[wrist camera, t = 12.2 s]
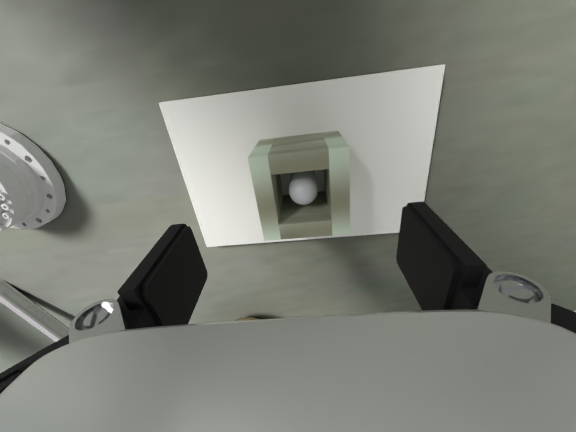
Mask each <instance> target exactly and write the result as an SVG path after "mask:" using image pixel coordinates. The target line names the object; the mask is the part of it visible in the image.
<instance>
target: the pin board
mask: <svg viewBox="0 0 576 432" xmlns="http://www.w3.org/2000/svg"><path fill="white" fill-rule="evenodd" d="M444 70H445V64H444V65H435V66H427V67H420V68H412V69H405V70H397V71H390V72H382V73H375V74H367V75H360V76H352V77H345V78H337V79H330V80H323V81H315V82H308V83H300V84H293V85H285V86H278V87H270V88H263V89H255V90H248V91H240V92H233V93H225V94H218V95H210V96H203V97H195V98H188V99H180V100H173V101H165V102H160V103H159V106H160V109H161V112H162V115H163V118H164V121H165V124H166V127H167V130H168V133H169V136H170V139H171V142H172V145H173V148H174V151H175V154H176V156H177V159H178V162H179V165H180V168H181V171H182V174H183V177H184V180H185V183H186V186H187V189H188V192H189V195H190V198H191V201H192V204H193V207H194V210H195V213H196V216H197V219H198V222H199V225H200V228H201V231H202V234H203V237H204V240H205V243H206V246H207V247H214V246H227V245H240V244H254V243H267V242H280V241H293V240H307V239H320V238H333V237H346V236H359V235H373V234H386V233H399V232H400V223H401V215H402V208H403V207H404V206H407V204H408V203H411V202H424V199H425V192H426V186H427V179H428V173H429V166H430V160H431V153H432V147H433V141H434V134H435V128H436V121H437V115H438V108H439V102H440V95H441V89H442V83H443V76H444ZM331 131H339V133H340V134H341V136H342V137H343V138H344V140H345V141H346V142H347V144H348V145H349V147H350V234H345V235H332V236H319V237H306V238H293V239H281V240H268V241H264V237H263V232H262V227H261V222H260V217H259V212H258V207H257V202H256V197H255V192H254V187H253V182H252V177H251V172H250V167H249V162H248V157H249V155H250V154H251V152H252V150H253V149H254V147H255V146H256V144H257V143H258V141H259V140H262V139H271V138H279V137H288V136H297V135H305V134H314V133H322V132H331ZM280 178H281V185H282V192H283V195H289V194H290V197H291V199H292V200H293V201H294V202H296V203H297V204H301V205H306V204H309V203H311V202H312V201H313V200H314V199H315V198H316V196H317V193H318V192H320V191H325V180H324V170H314V171H304V172H294V173H285V174H280Z"/></svg>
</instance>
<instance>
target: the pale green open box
mask: <svg viewBox="0 0 576 432" xmlns="http://www.w3.org/2000/svg"><path fill="white" fill-rule="evenodd" d="M248 162H249V167H250V172H251V177H252V182H253V187H254V192H255V197H256V202H257V207H258V212H259V217H260V222H261V227H262V232H263V237H264V241H268V240H281V239H293V238H306V237H319V236H332V235H345V234H350V147H349V145H348V144H347V142H346V141H345V140H344V138H343V137H342V136H341V134H340V133H339V131H331V132H322V133H314V134H305V135H297V136H288V137H279V138H271V139H262V140H259V141H258V143H257V144H256V146H255V147H254V149H253V150H252V152H251V154H250V155H249V157H248ZM314 170H324V180H325V191H320V192H318V193H317V196H316V198H315V199H314V200H313V201H312V202H311V203H309V204H306V205H301V204H297V203H296V202H294V201H293V200H292V199H291V197H290V194H289V195H283V192H282V185H281V178H280V174H285V173H294V172H304V171H314Z"/></svg>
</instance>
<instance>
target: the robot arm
mask: <svg viewBox="0 0 576 432" xmlns="http://www.w3.org/2000/svg"><path fill="white" fill-rule="evenodd" d="M397 263H398V265H399V267H400V269H401V271H402V273H403V275H404V277H405V279H406V280H407V282H408V284H409V286H410V288H411V290H412V292H413V293H414V295H415V297H416V299H417V301H418V303H419V305H420V307H421V308H422V310H421V311H401V312H382V313H364V314H346V315H328V316H311V317H294V318H278V319H262V320H246V321H231V322H216V323H201V324H188V322H189V320H190V317H191V315H192V313H193V310H194V308H195V306H196V303H197V301H198V298H199V296H200V294H201V291H202V289H203V287H204V284H205V282H206V280H207V270H206V267H205V265H204V262H203V259H202V257H201V254H200V251H199V248H198V246H197V243H196V240H195V238H194V235H193V232H192V230H191V228H190V227H189V226H188V227H187V225H186V224H176V225H171V226H170V227H169V228H168V229H167V231H166V232H165V233H164V234H163V236H162V237H161V238H160V239H159V241H158V242H157V243H156V244H155V245H154V247H153V248H152V249H151V250H150V252H149V253H148V254H147V255H146V257H145V258H144V259H143V260H142V262H141V263H140V264H139V265H138V267H137V268H136V269H135V270H134V272H133V273H132V274H131V275H130V277H129V278H128V279H127V280H126V282H125V283H124V284H123V285H122V287H121V288H120V289H119V290H118V294H119V295H120V297H119V298H118V299H117V300H115V299H104V300H100V301H98V302H95V303H93V304H91V305H89V306H88V307H86V308H85V309H83V310H82V311H81V312H79V313H78V314H77V315H76V317H75V318H74V319H73V320H72V322H71V323H70V327H69V335H67V336H65V337H64V338H62V339H60V340H58V341H57V342H55V343H53V344H51V345H50V346H48V347H46V348H44V349H42V350H41V351H39V352H37V353H35V354H34V355H32V356H30V357H28V358H27V359H25V360H23V361H21V362H20V363H18V364H16V365H14V366H12V367H11V368H9V369H7V370H6V371H4V372H2V373H0V432H576V312H573V311H571V310H568V309H565V308H563V307H560V306H557V305H555V304H552V303H551V297H550V293H549V292H548V291H547V290H546V288H545V287H544V286H542V285H541V284H540V283H538V282H537V281H535V280H533V279H531V278H530V277H527V276H525V275H522V274H519V273H515V272H510V271H496V272H492V271H491V270H490V269H489V268H488V267H487V266H486V264H485V263H484V262H483V261H482V260H481V259H480V258H479V257H478V256H477V255H476V254H475V253H474V252H473V251H472V250H471V249H470V248H469V247H468V246H467V245H466V244H465V243H464V242H463V241H462V240H461V239H460V238H459V237H458V236H457V235H456V234H455V233H454V232H453V231H452V230H451V229H450V228H449V227H448V226H447V225H446V224H445V223H444V222H443V221H442V220H441V219H440V218H439V217H438V216H437V215H436V214H435V213H434V212H433V211H432V210H431V209H430V208H429V206H428V205H427V204H426V203H425V202H411V203H408V204H407V206H404V207H403V208H402V215H401V223H400V232H399V240H398V248H397Z"/></svg>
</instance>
